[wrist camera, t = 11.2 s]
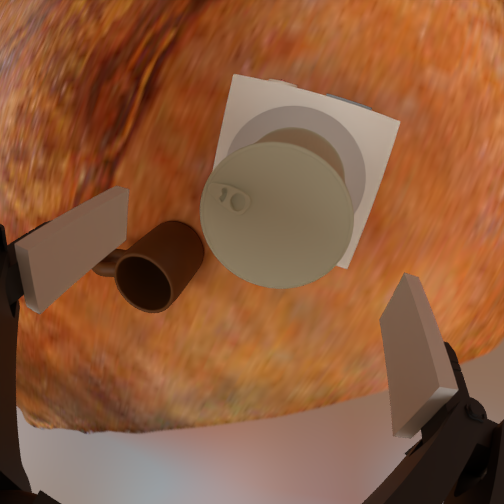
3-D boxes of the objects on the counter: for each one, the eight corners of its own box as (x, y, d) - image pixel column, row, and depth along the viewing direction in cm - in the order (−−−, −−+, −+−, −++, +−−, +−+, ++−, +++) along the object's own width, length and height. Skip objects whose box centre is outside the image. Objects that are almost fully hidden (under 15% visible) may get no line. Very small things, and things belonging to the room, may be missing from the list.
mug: (126, 260, 44) (88, 296, 35) (122, 210, 40) (78, 239, 32) (204, 278, 42) (175, 322, 34) (206, 224, 38) (173, 260, 30)
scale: (243, 72, 30) (229, 67, 25) (394, 115, 28) (405, 117, 24) (213, 213, 38) (197, 229, 33) (345, 254, 36) (347, 276, 32)
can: (270, 109, 26) (232, 112, 16) (363, 159, 27) (387, 196, 16) (228, 196, 31) (175, 249, 20) (313, 241, 31) (303, 317, 20)
